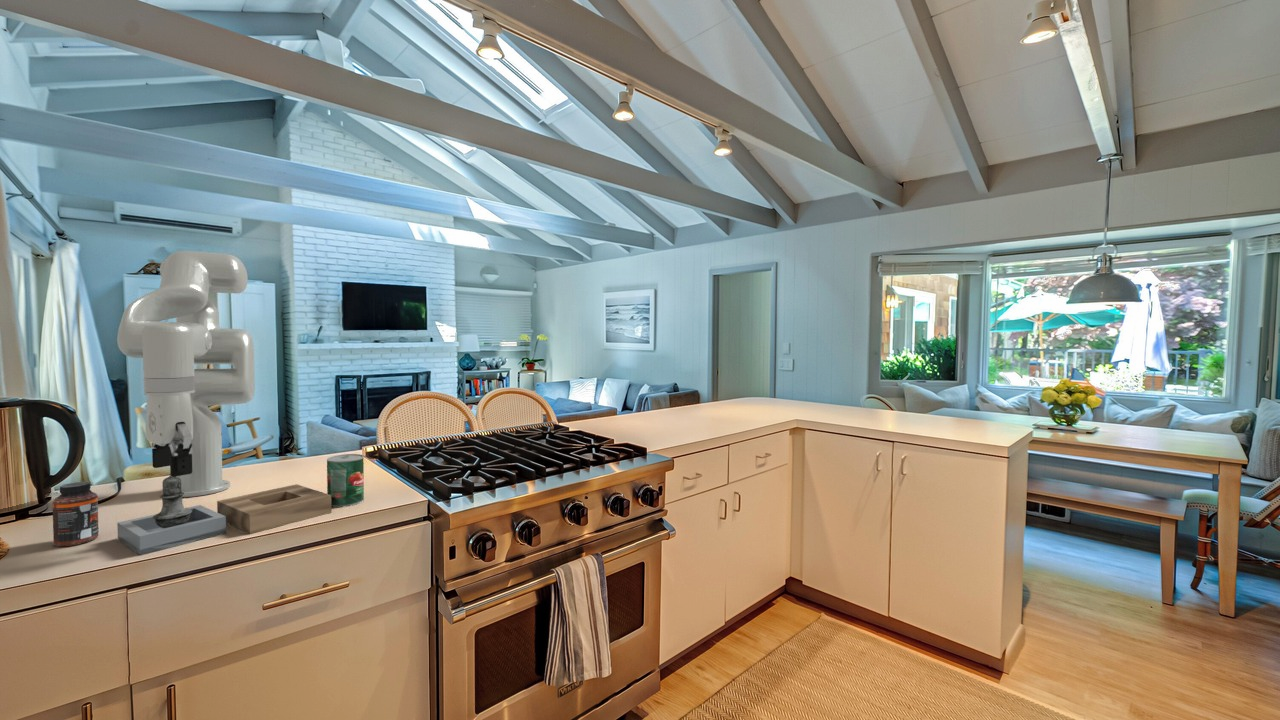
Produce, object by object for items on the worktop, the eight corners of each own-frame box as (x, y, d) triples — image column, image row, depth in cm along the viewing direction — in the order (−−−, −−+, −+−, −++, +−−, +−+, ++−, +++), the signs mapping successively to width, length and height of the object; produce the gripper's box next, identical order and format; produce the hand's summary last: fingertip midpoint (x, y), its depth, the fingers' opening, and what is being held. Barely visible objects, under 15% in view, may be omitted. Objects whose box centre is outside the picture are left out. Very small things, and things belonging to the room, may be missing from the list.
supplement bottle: (99, 541, 101) (98, 483, 100) (53, 550, 96) (51, 490, 96) (98, 533, 105) (96, 478, 104) (53, 541, 100) (51, 484, 100)
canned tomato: (365, 503, 125) (365, 458, 125) (327, 509, 121) (326, 462, 121) (362, 495, 132) (362, 452, 132) (326, 500, 128) (326, 456, 127)
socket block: (217, 518, 114) (217, 500, 114) (296, 500, 127) (296, 484, 127) (250, 534, 105) (249, 514, 105) (331, 512, 119) (331, 495, 119)
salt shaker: (169, 537, 100) (168, 476, 100) (144, 535, 101) (143, 475, 101) (200, 527, 106) (198, 469, 106) (176, 525, 107) (175, 467, 107)
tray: (117, 540, 101) (117, 522, 101) (200, 520, 112) (200, 505, 112) (140, 555, 95) (139, 536, 94) (226, 533, 106) (225, 516, 105)
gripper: (129, 383, 104) (132, 467, 105) (160, 391, 95) (163, 483, 96) (177, 380, 110) (179, 459, 111) (211, 388, 101) (213, 474, 102)
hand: (172, 470), depth 104 cm, fingers open, 9 cm apart
